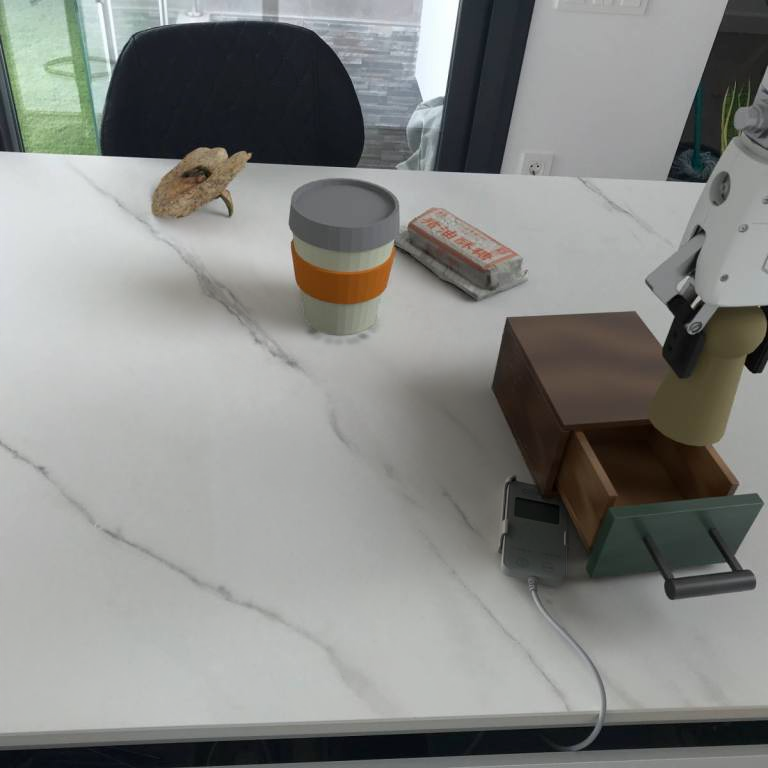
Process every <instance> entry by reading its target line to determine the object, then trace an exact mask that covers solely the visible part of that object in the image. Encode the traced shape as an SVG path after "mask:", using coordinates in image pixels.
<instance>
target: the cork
mask: <svg viewBox="0 0 768 768" xmlns="http://www.w3.org/2000/svg"><path fill="white" fill-rule="evenodd" d="M701 300H702V299H701V298H700V300H698V301H697V302H696V303H695V305H694V306H693V307H692V308H693V310H694V309H695V308H696V306H697V305H698V304H699V302H700V301H701ZM766 329H767V320H766V316H765V314H764V312H763V310H762V309H761V308H760V306H744V307H718V309H717V310H716V311H715V313H714V314H713V316H712V317H711V318H710V320H709V321H708V322H707V324H706V325H705V326H704V328H703V329H702V331H703V332H704V333H705V335H706V340H705V343H704V345H703V348H702V350H701V352H700V355H699V357H698V359H697V362H696V364H695V366H694V369H693V371H692V374H691V376H689V378H685V379H680V378H679V377H678V376H677V375H676V373H675V372H674V371H673V369H672V368H670V370H669V371H668V373H667V375H666V376H665V378H664V380H663V382H662V383H661V385H660V387H659V388H658V390H657V392H656V393H655V395H654V397H653V398H652V400H651V402H650V403H649V406H648V410H647V413H648V417H649V420H650V421H651V423H652V424H653V425H654V427H655V428H656V429H657V430H659V431H660V432H661V433H662V434H663V435H665V436H667V437H669V438H671V439H673V440H674V441H677V442H680V443H683V444H687V445H693V446H707V445H712V446H713V445H714V444H717V443H719V442H720V441H721V440H722V439H723V437H724V436H725V433H726V430H727V426H728V422H729V420H730V419H729V418H730V415H731V412H732V409H733V405H734V401H735V398H736V395H737V391H738V389H739V388H738V387H739V385H740V380H741V377H742V373H743V370H744V367H745V365H744V363H745V360H746V356H747V354H749V353H751V352H753V351H754V350H755V349H756V348H757V347H758V346H759V344H760V343H761V342H762V341H763V339H764V337H765V335H766Z"/></svg>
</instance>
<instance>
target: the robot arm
mask: <svg viewBox="0 0 768 768" xmlns="http://www.w3.org/2000/svg"><path fill="white" fill-rule="evenodd" d="M733 127H734V129H735V130H736V131H740V132H741V134H740V135H737V136H733V137H732V138H731V140H730V142H729V143H728V145H727V146H726V148H725V150H724V151H723V152H722V154H721V156H720V157H719V160H718V161H717V163H716V164H715V167H714V168H713V170H712V172H711V173H710V175H709V177H708V180H707V181H706V183H705V185H704V187H703V189H702V191H701V193H700V196H699V197H698V200H697V202H696V204H695V205H694V209H693V211H692V213H691V215H690V217H689V219H688V221H687V225H686V228H685V230H684V233H683V235H682V237H681V241H680V243H679V247H678V249H677V251H675V252H674V253H672V254H671V256H669V257H668V258H667V259H666V260H664V261H663V262H662V263H661V264H660V265H658V266H657V267H656V268H655V269H654V270H653V271H651V272H650V273H649V274H647V276H646V277H645V279H644V283H645V285H646V286H647V287H648V288H649V289H650V291H651V292H652V293H653V294H654V296H656V297H657V298H658V299H659V300H660V301H661V302H662V303H663V304H664V305H665V306H666V308H667V309H668V311H669V312H670V313H671V314H672V315H673V319H672V321H671V323H670V324H671V325H670V327H669V330H668V332H667V334H666V337H665V340H664V343H663V345H662V347H663V349H662V355H663V358H664V359H665V360H666V362H667V363H668V364H669V366H670V367H671V368H672V369H673V371H674V372H675V373H676V375H677V376H678V377H679V378H680V379H685V378H689V376H691V374H692V371H693V369H694V366H695V364H696V362H697V359H698V357H699V355H700V352H701V350H702V348H703V345H704V343H705V340H706V335H705V333H704V332H703V331H702V329H703V328H704V326H705V325H706V324H707V322H708V321H709V320H710V318H711V317H712V316H713V314H714V313H715V311H716V310H717V309H718V307H744V306H758V307H760V308H761V309H762V310H763V312H764V314H765V316H766V320H767V329H766V335H765V337H764V339H763V341H762V342H761V343H760V344H759V346H758V347H757V348H756V349H755V350H754V351H753V352H751V353H749V354H747V356H746V360H745V363H744V367H745V368H746V369H747V370H748V372H751V373H752V374H753V375H755V374H762V373H763V372H764V370H765V367H766V365H767V364H768V65H767V66H766V69H765V72H764V75H763V77H762V79H761V81H760V83H759V87H758V89H757V92H756V95H755V97H754V100H753V103H752V104H751V105H749V106H741V107H739V108H738V109H737V110H736V111H735V113H734V116H733ZM687 277H688V278H687ZM685 278H687V280H686V282H685V283H684V284H683V285H682V286H681V288H680V290H678V289H677V288H678V285H679V284H680V283H681V282H682V281H683V280H684V279H685ZM698 297H699V298H700V300H701V299H702V300H701V301H700V300H699V301H700V302H699V304H698V305H697V306H696V308H695V309H694V310H693V307H692V305H693V304H694V302H695V301H696V300H697V298H698Z"/></svg>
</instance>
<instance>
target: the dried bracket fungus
mask: <svg viewBox="0 0 768 768" xmlns="http://www.w3.org/2000/svg"><path fill="white" fill-rule="evenodd" d="M251 158H252V152H247V151H246V150H241V151H238V152H236V153H234V154H232V155H231V156H230V157H229V154H228V152H227V150H226V148H224V147H214V148H209V147H203V146H201V147H198V148H196V149H194V150H192V151H191V152H189V153H187V154H186V155H185V157H183V159H181V161H179V162H178V164H177V165H175V166H174V167H173V168H171V169H170V170H169V171H168V172H167V173H166V174H165V175H164V176H162V177H161V179H160V182H159V183H158V185H157V187H156V188H155V189H154V191H153V194H152V195H153V196H152V199H151V200H152V201H151V205H150V206H151V213H152V214H153V215H155V216H159V217H166V218H168V217H169V218H172V219H180V218H184V217H188V216H190V215H192V214H193V213H195V212H196V211H197V210H199V209H200V208H202V207H203V206H204V205H206V204H208V203H210V202H212V201H213V200H218V199H221V200H222V201H223V203H224V205H225V207H226V209H227V212H228V217H229V218H232V217H233V214H234V204H233V199H232V194H231V192H230V191H229V190H228V189H227V187H228V186H229V185H230V183H231V182H232V181H233V180H234V179H235V178H236V177H237V176H238V174H240V172H241V171H242V170H243V169H244V168H245V167H246V164H247V162H248V160H250V159H251Z"/></svg>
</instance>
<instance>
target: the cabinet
mask: <svg viewBox="0 0 768 768" xmlns="http://www.w3.org/2000/svg"><path fill="white" fill-rule="evenodd" d="M662 349H663V345H662V344H661V342H660V341H659V340H658V339H657V337H656V336H655V335H654V334H653V332H652V331H651V329H650V328H649V327H648V326H647V324H646V323H645V322H644V320H643V319H642V318H641V316H640V315H639V314H638V313H637V310H629V311H628V310H625V311H605V312H586V313H585V312H583V313H564V314H544V315H543V314H541V315H522V316H507V317H506V318H505V322H504V327H503V331H502V336H501V341H500V345H499V351H498V355H497V360H496V364H495V369H494V374H493V378H492V379H493V380H492V383H491V387H490V389H491V390H492V393H493V395H494V396H495V400H496V402H497V404H498V406H499V408H500V410H501V412H502V414H503V417H504V419H505V421H506V423H507V426H508V428H509V430H510V433H511V434H512V436H513V438H514V441H515V444H516V445H517V447H518V449H519V452H520V454H521V457H522V458H523V461H524V462H525V465H526V467H527V469H528V471H529V473H530V476H531V479H532V480H533V483H534V485H535V487H536V489H537V491H538V494H539V496H540V498H541V499H542V500H543V499H553V498H561V496H560V493H559V491H558V489H557V487H556V485H555V483H554V481H555V478H556V475H557V472H558V468H559V465H560V462H561V459H562V456H563V452H564V449H565V446H566V443H567V440H568V436H569V433H570V431H573V430H586V429H599V428H612V427H624V426H637V425H650V424H652V423H651V421H650V420H649V417H648V413H647V410H648V406H649V403H650V402H651V400H652V398H653V397H654V395H655V393H656V392H657V390H658V388H659V387H660V385H661V383H662V382H663V380H664V378H665V376H666V375H667V373H668V371H669V370H670V368H671V367H670V366H669V364H668V363H667V362H666V360H665V359H664V358H663V355H662Z"/></svg>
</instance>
